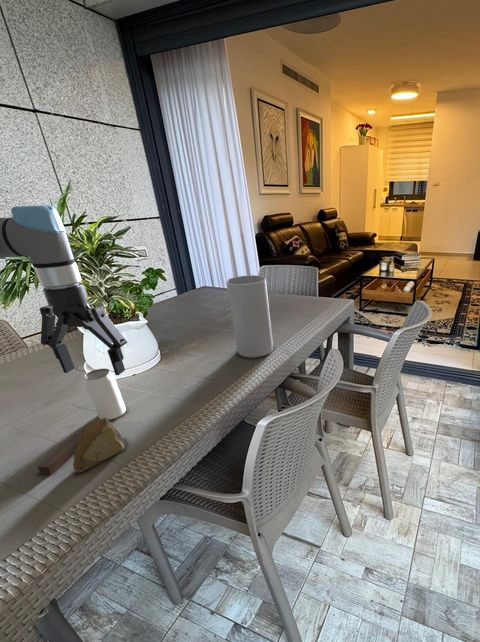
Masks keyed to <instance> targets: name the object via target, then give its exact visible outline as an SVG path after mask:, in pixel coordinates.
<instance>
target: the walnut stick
mask: <svg viewBox="0 0 480 642" xmlns="http://www.w3.org/2000/svg"><path fill="white" fill-rule="evenodd" d="M93 421H94V420H90V421H88V422H87V423H86V424H84V425H83V426H82V427H81V428H80V429H79V430H78V431H77V432H75V433H74V434H73V435H72V436H70V437H69V439H67V440H66V441H65V442H64V443H63V444H61V445H60V446H59V447H58V448H57V449H55V450H54V451H53V452H52V453H51V454H49V456H47V457H46V458H45V459H43V461H42V462H40V463H39V464H38V465H37V466H36V468H37V469H38V471H39V473H40V474H42V475H53V474H54V473H55V472H56V471H57V470H58V469H59V468H60V467H61V466H62V465H63V464H64V463H66V462H67V461H68V460H69V459H70V458H71V457H72V456H74V453H75V450H76V449H77V448H78V444H79V440H80V438H81V431H82V429H84V428H86V427H87V426H88V425H90V424H91V423H92V422H93Z"/></svg>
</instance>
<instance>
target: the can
mask: <svg viewBox="0 0 480 642" xmlns="http://www.w3.org/2000/svg"><path fill="white" fill-rule="evenodd" d="M84 386H85V388H86V390H87V393H88V395H89V398H90V401H91V403H92V405H93V407H94V410H95V412H96V415H97V417H98V419H103V418H106V419H107V420H109V421H111V420H116V419H118V418H120V417H121V416H123V415H124V414H125V413H126V410H127V408H126V405H125V402H124V399H123V398H122V397H123V396H122V394H121V390H120V388H119V386H118V383H117V380H116V378H115V375H114V374H113V373H112V372H111V370H110V369H109V368H98V369H94V370H91V371H89V372H87V373H86V374H85V375H84Z"/></svg>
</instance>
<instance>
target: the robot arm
mask: <svg viewBox="0 0 480 642" xmlns="http://www.w3.org/2000/svg"><path fill="white" fill-rule="evenodd" d="M10 212H11V215H12V216H11V217H10V216H9V217H0V259H5V258H29V260H30V262H31V265H32V267H33V269H34V272H35V275H36V278H37V280H38V282H39V285H40V286H41V287H43V289H42V292H43V295H44V297H45V299H46V302H47V305H44V306H42V307H39V312H40V315H41V328H40V344H41V345H42V346H48V347H50V349H52V351H53V354H54V356H55V358H56V360H58V361H59V364H60V366H61V368H62V371H63V374H64V373H65V374H68V373H69V372H71V371H72V370H74V369H76V367H75V364H74V362H73V360H72V356H71V353H70V351H69V349H68V347H67V344H66V343H64V338H65V336H66V334H67V331H68V329H69V328H73V327H75V328H83V329H84V330H88V331H89V332H90V333H91V334H92V335H94V336H95V337H96V338H97V339H98V340H99V341H101V343H103V344H104V345H105V346H106V347H107V348H109V349H108V350H107V355H108V357H109V360H110V364H111V366H112V368H113V371H114V374H115V375H114V376H120V375H121V374H122V373H125V371H126V368H125V365H124V361H123V360H124V359H125V358H124V354H123V350H122V347H123V346H125V345H127V344H128V340H127V339H126V337H125V336H124V335H123V334H122V332H121V331H120V330H119V329H118V327H117V326H116V325H115V324H114V323H113V321H112V320H111V319H110V318H109V316H108V315H107V313H106V311H105V308H104V307H103V305H100V304H99V305H98V306H94V307H90V305H89V303H88V301H89V296H88V294H87V290H86V288H85V285H84V283H82V282H81V281H82V276H81V273H80V271H79V267H78V264H77V262H76V260H75V257H74V255H73V251H72V248H71V245H70V241H69V238H68V235H67V231H66V227H65V226H64V224H63V221H62V220H61V217H60V214H59V211H58V210H57V208H55V207H54V206H52V205H49V204H48V205H47V204H45V205H43V204H40V205H18V206H17V205H15V206H12V207H11V209H10ZM56 318H57V321H56Z"/></svg>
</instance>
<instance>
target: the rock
mask: <svg viewBox="0 0 480 642" xmlns="http://www.w3.org/2000/svg"><path fill="white" fill-rule="evenodd" d="M92 421H93V422H92V423H91V424H90V425H88V426H87V427H86V428H84V429H82V431H81V438H80V440H79V444H78V448H77V449H76V450H75V453H74V454H73V463H72V466H73V469H74V471H75V472H76V473H77V474H80V473H83V472H85V471H86V470H88V469H90V468H92V467H94V466H96V465H98V464H99V463H101V462H103V461H105V460H107V459H109V458H112V457H113V456H115V455H116V454H119V453H120V452H122V451H123V450H124V449H125V447H126V446H125V445H126V444H125V443H126V442H125V440H124V438H123V436H122V434H121V433H120V431H119V430H118V429H117V428H116V427H115V426H114V424H113V423H112V422H111V420H107V419H106V418H103V419H100V418H98V419H96V420H92Z"/></svg>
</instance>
